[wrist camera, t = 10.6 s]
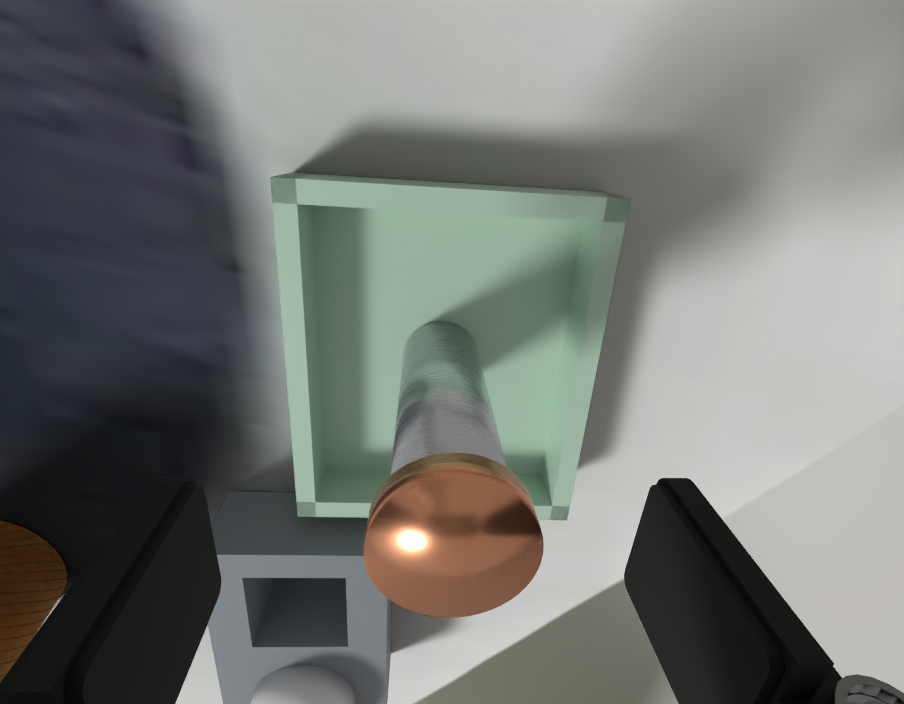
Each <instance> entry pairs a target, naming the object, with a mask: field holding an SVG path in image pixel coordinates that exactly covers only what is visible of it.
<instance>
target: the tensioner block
mask: <svg viewBox="0 0 904 704" xmlns="http://www.w3.org/2000/svg"><path fill="white" fill-rule="evenodd" d="M367 522H368V518H360V517H298V514H297V502H296V492H243V491H230V492H229V494H228V496H227V498H226V499H225V501H224V503H223V505H222V506H221V508H220V510H219V512H218V513H217V515H216V517H215V519H214V521H213V522H212V524H211V528H212V533H213V538H214V543H215V548H216V553H217V558H218V563H219V568H220V574H221V590H220V594H219V597H218V600H217V602H216V605H215V607H214V610H213V612H212V615H211V617H210V620H209V622H208V627H209V632H210V637H211V643H212V648H213V653H214V658H215V663H216V668H217V673H218V679H219V684H220V689H221V694H222V699H223V704H387V698H388V684H389V670H390V655H391V600H389V599H388V598H387V597H386V596H384V595H383V594H382V593H381V592H380V591H379V590H378V589H377V588H376V586H375V585H374V583H373V582H372V580H371V579H370V577H369V575H368V573H367V570H366V567H365V563H364V554H363V552H364V542H365V535H366V529H367Z"/></svg>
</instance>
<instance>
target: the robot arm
mask: <svg viewBox="0 0 904 704" xmlns="http://www.w3.org/2000/svg"><path fill="white" fill-rule="evenodd" d="M624 579H625V585H626V589H627V591H628V593H629V596H630V598H631V600H632V602H633V604H634V607H635V609H636V611H637V613H638V615H639V618H640V620H641V622H642V624H643V626H644V628H645V631H646V633H647V635H648V637H649V640H650V642H651V644H652V646H653V648H654V650H655V653H656V655H657V657H658V659H659V661H660V664H661V666H662V668H663V670H664V672H665V675H666V677H667V679H668V681H669V683H670V685H671V688H672V690H673V692H674V694H675V697H676V699H677V701H678V703H679V704H904V693H902V692H901V691H899V690H897V689H896V688H894V687H892V686H891V685H889V684H887V683H885V682H882V681H880V680H877V679H875V678H872V677H868V676H862V675H851V676H845V677H844V678H842V677H841V676H840V675H839V674H838V672H837V671H836V670H835V668H834V667H833V665H834V663H833V662H832V660H831V659H830V658H829V657H828V655H827V654H826V653H825V651H824V650H823V649H822V648H821V646H820V645H819V644H818V642H817V641H816V640H815V639H814V637H813V636H812V635H811V633H810V632H809V631H808V630H807V628H806V627H805V626H804V624H803V623H802V622H801V621H800V619H799V618H798V617H797V615H796V614H795V613H794V612H793V610H792V609H791V608H790V606H789V605H788V604H787V602H786V601H785V600H784V599H783V598H782V596H781V595H780V594H779V592H778V591H777V590H776V588H775V587H774V586H773V584H772V583H771V582H770V581H769V579H768V578H767V577H766V576H765V574H764V573H763V572H762V570H761V569H760V568H759V566H758V565H757V564H756V563H755V561H754V560H753V559H752V557H751V556H750V555H749V554H748V552H747V551H746V550H745V548H744V547H743V546H742V544H741V543H740V542H739V541H738V539H737V538H736V537H735V536H734V534H733V533H732V532H731V530H730V529H729V528H728V526H727V525H726V524H725V523H724V521H723V520H722V519H721V517H720V516H719V515H718V514H717V512H716V511H715V510H714V508H713V507H712V506H711V505H710V503H709V502H708V501H707V499H706V498H705V497H704V496H703V494H702V493H701V492H700V490H699V489H698V488H697V486H696V485H695V484H694V483H693V482H692V481H691V480H690V479H687V478H662V479H660V480H659V481H658V482H657V484H656V485H652V486H651V488H650V490H649V493H648V496H647V500H646V503H645V506H644V510H643V513H642V516H641V519H640V523H639V526H638V529H637V533H636V536H635V539H634V543H633V546H632V549H631V553H630V556H629V559H628V562H627V566H626V569H625V574H624ZM220 590H221V574H220V568H219V563H218V558H217V553H216V548H215V543H214V538H213V533H212V528H211V523H210V517H209V512H208V507H207V502H206V497H205V492H204V488H203V486H202V485H201V484H195V481H194V479H193V478H192V477H159V478H157V479H156V480H155V482H154V483H153V484H152V486H151V487H150V488H149V490H148V491H147V493H146V494H145V495H144V497H143V498H142V500H141V501H140V502H139V504H138V505H137V506H136V508H135V509H134V511H133V512H132V513H131V515H130V516H129V518H128V519H127V520H126V522H125V523H124V525H123V526H122V527H121V529H120V530H119V532H118V533H117V534H116V536H115V537H114V538H113V540H112V541H111V543H110V544H109V545H108V547H105V548H103V549H101V550H100V551H98V552H97V553H96V554H95V555H94V557H93V558H92V559H91V560H90V561H89V563H88V564H87V565H86V567H85V568H84V570H83V571H82V572H81V574H80V575H79V576H78V578H77V579H76V580H75V582H74V583H73V584H72V586H71V587H70V589H69V590H68V591H67V593H66V594H65V595H64V597H63V598H62V599H61V601H60V602H59V603H58V605H57V606H56V608H55V609H54V610H53V612H52V613H51V614H50V616H49V617H48V618H47V620H46V621H45V622H44V624H43V625H42V627H41V628H40V629H39V631H38V632H37V633H36V635H35V636H34V637H33V639H32V640H31V641H30V643H29V644H28V646H27V647H26V648H25V650H24V651H23V652H22V654H21V655H20V656H19V658H18V659H17V660H16V662H15V663H14V665H13V666H12V667H11V669H10V670H9V671H8V673H7V674H6V675H5V677H4V678H3V679H2V681H1V682H0V704H175V702H176V700H177V698H178V695H179V693H180V690H181V688H182V685H183V683H184V681H185V678H186V676H187V673H188V671H189V668H190V666H191V663H192V661H193V659H194V656H195V654H196V651H197V649H198V646H199V644H200V641H201V639H202V637H203V634H204V632H205V629H206V627H207V624H208V622H209V620H210V617H211V615H212V612H213V610H214V607H215V605H216V602H217V600H218V597H219V594H220Z"/></svg>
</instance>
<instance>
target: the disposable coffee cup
mask: <svg viewBox="0 0 904 704" xmlns="http://www.w3.org/2000/svg"><path fill="white" fill-rule="evenodd" d="M66 584H67V571H66V566H65V564H64V562H63V561H62V559H61V557H60V555H59V554H58V553H57V552H56V550H55V549H54V548H53V547H52V546H51V545H50V544H49V543H48V542H47V541H45V540H44V539H42V538H41V537H40V536H38V535H37V534H35V533H33V532H31V531H29V530H28V529H26V528H23V527H20V526H17V525H15V524H12V523H9V522H5V521H0V682H1V681H2V679H3V678H4V677H5V675H6V674H7V673H8V671H9V670H10V669H11V667H12V666H13V665H14V663H15V662H16V660H17V659H18V658H19V656H20V655H21V654H22V652H23V651H24V650H25V648H26V647H27V646H28V644H29V643H30V641H31V640H32V639H33V637H34V636H35V635H36V633H37V631H38V630H39V628H40V627H41V625H42V624H43V622H44V620H45V619H46V617H47V616H48V614H49V613H50V611H51V609H52V608H53V606H54V605H55V603H56V601H57V600H58V598H59V597H60V595H61V594H62V592H63V591H64V589H65V586H66Z"/></svg>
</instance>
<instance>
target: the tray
mask: <svg viewBox="0 0 904 704" xmlns="http://www.w3.org/2000/svg"><path fill="white" fill-rule="evenodd" d="M270 178H271V191H272V203H273V216H274V228H275V241H276V253H277V265H278V278H279V290H280V303H281V315H282V328H283V340H284V352H285V365H286V377H287V390H288V402H289V415H290V427H291V439H292V452H293V464H294V477H295V489H296V502H297V514H298V517H360V518H368V516H369V510H370V506H371V503H372V501H373V498H374V496H375V494H376V493H377V491H378V489H379V488H380V486H381V485H382V484H383V483H384V482H385V481H386V479H387V478H389V477H390V472H391V463H392V454H393V445H394V436H395V427H396V417H397V408H398V399H399V390H400V381H401V372H402V363H403V353H404V347H405V344H406V342H407V340H408V338H409V337H410V335H411V334H412V333H413V332H414V331H415V330H416V329H418V328H419V327H421V326H422V325H424V324H427V323H430V322H434V321H448V322H452V323H455V324H458V325H460V326H461V327H463V328H464V329H466V330H467V331H468V332H469V333H470V335H471V336H472V337H473V339H474V341H475V343H476V346H477V350H478V354H479V358H480V362H481V366H482V370H483V374H484V378H485V382H486V386H487V390H488V394H489V398H490V402H491V406H492V410H493V414H494V418H495V422H496V426H497V430H498V434H499V438H500V442H501V446H502V450H503V454H504V458H505V462H506V466H507V468H508V469H510V470H511V471H512V472H513V473H515V474H516V475H517V476H518V477H519V478H520V480H521V481H522V482H523V483H524V485H525V486H526V488H527V489H528V491H529V494H530V496H531V498H532V501H533V505H534V508H535V512H536V515H537V518H538V520H567V518H568V513H569V508H570V503H571V498H572V492H573V487H574V482H575V477H576V472H577V467H578V462H579V457H580V452H581V447H582V442H583V437H584V432H585V427H586V422H587V417H588V412H589V407H590V401H591V396H592V391H593V386H594V381H595V376H596V371H597V366H598V361H599V356H600V351H601V346H602V341H603V336H604V331H605V326H606V321H607V316H608V310H609V305H610V300H611V295H612V290H613V285H614V280H615V275H616V270H617V265H618V260H619V255H620V250H621V245H622V240H623V235H624V230H625V225H626V219H627V214H628V209H629V204H630V199H628V198H624V197H621V196H617V195H613V194H610V193H606V192H600V191H584V190H568V189H552V188H536V187H520V186H503V185H487V184H471V183H455V182H439V181H423V180H406V179H390V178H374V177H358V176H342V175H325V174H309V173H293V172H292V173H287V174H283V175H278V176H274V177H270Z"/></svg>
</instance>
